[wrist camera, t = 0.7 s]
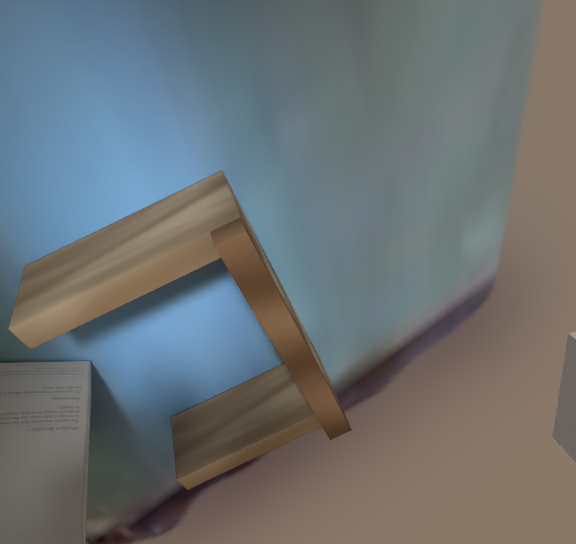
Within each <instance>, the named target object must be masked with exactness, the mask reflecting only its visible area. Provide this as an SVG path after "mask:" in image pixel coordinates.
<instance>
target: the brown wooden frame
mask: <svg viewBox="0 0 576 544" xmlns="http://www.w3.org/2000/svg"><path fill="white" fill-rule="evenodd" d="M219 258H222V260H223V262H224V263H225V265H226V267H227V268H228V270H229V272H230V273H231V275H232V277H233V278H234V280H235V282H236V283H237V285H238V287H239V288H240V290H241V292H242V293H243V295H244V297H245V298H246V300H247V302H248V303H249V305H250V307H251V308H252V310H253V312H254V313H255V315H256V317H257V318H258V320H259V322H260V323H261V325H262V327H263V328H264V330H265V332H266V333H267V335H268V337H269V339H270V340H271V342H272V344H273V345H274V347H275V349H276V350H277V352H278V354H279V355H280V357H281V359H282V360H283V362H284V364H282V365H280V366H278V367H275V368H273V369H271V370H269V371H267V372H265V373H263V374H261V375H259V376H257V377H255V378H252V379H250V380H248V381H246V382H244V383H242V384H240V385H238V386H236V387H234V388H232V389H229V390H227V391H225V392H223V393H221V394H219V395H217V396H215V397H213V398H211V399H209V400H206V401H204V402H202V403H200V404H198V405H196V406H194V407H192V408H190V409H188V410H186V411H183V412H181V413H179V414H177V415H175V416H173V417H171V427H172V437H173V447H174V457H175V467H176V477H177V481H179V482H180V483H181V484H182V485H183V486H184V487H185V488H186V489H187V490H188V489H191V488H193V487H195V486H197V485H199V484H201V483H203V482H205V481H207V480H209V479H212V478H214V477H216V476H218V475H220V474H222V473H224V472H226V471H228V470H230V469H233V468H235V467H237V466H239V465H241V464H243V463H245V462H247V461H249V460H251V459H254V458H256V457H258V456H260V455H262V454H264V453H266V452H268V451H270V450H272V449H275V448H277V447H279V446H281V445H283V444H285V443H287V442H289V441H291V440H293V439H296V438H298V437H300V436H302V435H304V434H306V433H308V432H310V431H312V430H314V429H317V428H319V427H321V426H322V427H323V429H324V430H325V432H326V434H327V435H328V437H329V439H330V440H331V439H334V438H335V437H338V436H340V435H342V434H344V433H346V432H348V431H350V430H351V428H350V426H349V423H348V421H347V419H346V416H345V414H344V412H343V410H342V407H341V405H340V403H339V401H338V398H337V396H336V394H335V392H334V389H333V387H332V385H331V383H330V380H329V378H328V376H327V374H326V371H325V369H324V367H323V364H322V362H321V360H320V358H319V356H318V354H317V352H316V350H315V349H314V347H313V345H312V343H311V341H310V339H309V337H308V335H307V333H306V331H305V329H304V327H303V325H302V323H301V321H300V320H299V318H298V316H297V314H296V312H295V310H294V308H293V306H292V304H291V302H290V300H289V298H288V296H287V294H286V292H285V291H284V289H283V287H282V285H281V283H280V281H279V279H278V277H277V275H276V273H275V271H274V269H273V267H272V265H271V263H270V262H269V260H268V258H267V256H266V254H265V252H264V250H263V248H262V246H261V244H260V242H259V240H258V238H257V236H256V234H255V233H254V231H253V229H252V227H251V225H250V223H249V221H248V219H247V217H246V215H245V213H244V211H243V209H242V207H241V205H240V204H239V202H238V200H237V198H236V196H235V194H234V192H233V190H232V188H231V186H230V184H229V182H228V180H227V178H226V176H225V175H224V173H223V171H220V172H218V173H216V174H214V175H212V176H210V177H208V178H205V179H203V180H201V181H199V182H197V183H195V184H193V185H191V186H189V187H187V188H185V189H183V190H181V191H179V192H177V193H175V194H172V195H170V196H168V197H166V198H164V199H162V200H160V201H158V202H156V203H154V204H152V205H150V206H148V207H146V208H144V209H142V210H139V211H137V212H135V213H133V214H131V215H129V216H127V217H125V218H123V219H121V220H119V221H117V222H115V223H113V224H111V225H108V226H106V227H104V228H102V229H100V230H98V231H96V232H94V233H92V234H90V235H88V236H86V237H84V238H82V239H80V240H78V241H75V242H73V243H71V244H69V245H67V246H65V247H63V248H61V249H59V250H57V251H55V252H53V253H51V254H49V255H47V256H45V257H42V258H40V259H38V260H36V261H34V262H32V263H30V264H28V265H26V266H25V267H24V271H23V275H22V279H21V283H20V286H19V290H18V294H17V298H16V302H15V306H14V309H13V313H12V317H11V321H10V325H9V330H10V331H11V332H12V333H13V334H14V335H15V336H16V337H18V338H19V339H20V340H21V341H22V342H23V343H24V344H25V345H27V346H28V347H29V348H30V349H33V348H35V347H37V346H39V345H41V344H43V343H45V342H47V341H49V340H51V339H53V338H55V337H58V336H60V335H62V334H64V333H66V332H68V331H70V330H72V329H74V328H76V327H78V326H80V325H82V324H85V323H87V322H89V321H91V320H93V319H95V318H97V317H99V316H101V315H103V314H105V313H107V312H109V311H111V310H114V309H116V308H118V307H120V306H122V305H124V304H126V303H128V302H130V301H132V300H134V299H136V298H138V297H141V296H143V295H145V294H147V293H149V292H151V291H153V290H155V289H157V288H159V287H161V286H163V285H165V284H167V283H170V282H172V281H174V280H176V279H178V278H180V277H182V276H184V275H186V274H188V273H190V272H192V271H194V270H197V269H199V268H201V267H203V266H205V265H207V264H209V263H211V262H213V261H215V260H217V259H219Z"/></svg>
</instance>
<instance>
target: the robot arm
mask: <svg viewBox="0 0 576 544" xmlns="http://www.w3.org/2000/svg"><path fill="white" fill-rule="evenodd" d="M552 437H553V438H554V439H555V440H556V441H557V443H558V444H559V445H560V446H561V447H562V448H563V449H564V450H565V451H566V453H567V454H568V455H569V456H570V457H571V458H572V459H573V460H574V461H575V463H576V332H574V333H568V336H567V343H566V350H565V357H564V363H563V370H562V377H561V383H560V390H559V396H558V403H557V410H556V416H555V423H554V430H553V436H552Z"/></svg>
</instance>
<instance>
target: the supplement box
mask: <svg viewBox="0 0 576 544" xmlns="http://www.w3.org/2000/svg"><path fill="white" fill-rule="evenodd" d="M90 414H91V362H90V361H65V362H14V363H0V544H86V519H87V490H88V464H89V441H90Z"/></svg>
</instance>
